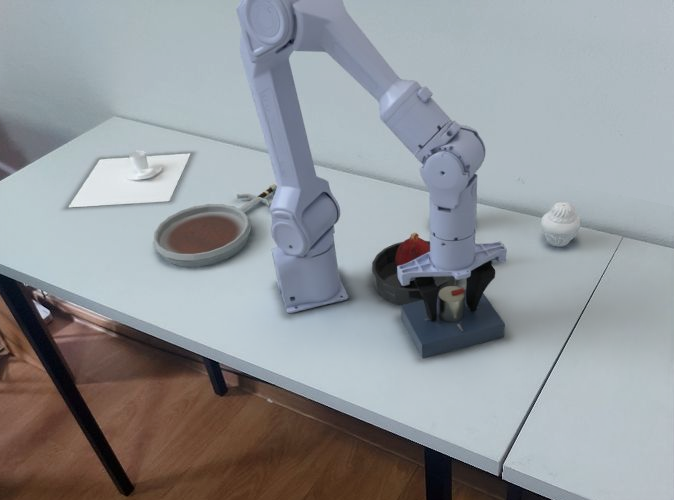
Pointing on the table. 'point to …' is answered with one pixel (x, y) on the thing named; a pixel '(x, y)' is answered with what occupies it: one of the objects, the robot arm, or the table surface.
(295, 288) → the robot arm
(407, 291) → the skillet
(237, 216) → the frying pan
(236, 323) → the table surface
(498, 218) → the table surface
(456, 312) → the knob
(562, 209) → the muffin
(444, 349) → the blue control panel
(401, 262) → the red pomegranate
